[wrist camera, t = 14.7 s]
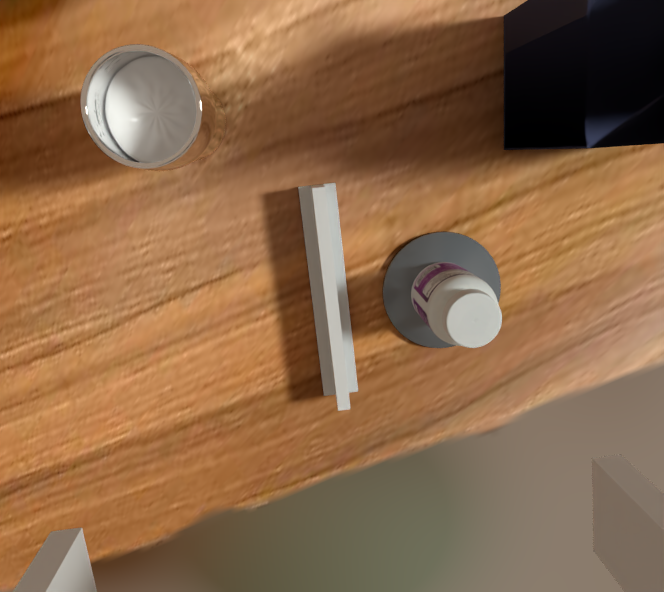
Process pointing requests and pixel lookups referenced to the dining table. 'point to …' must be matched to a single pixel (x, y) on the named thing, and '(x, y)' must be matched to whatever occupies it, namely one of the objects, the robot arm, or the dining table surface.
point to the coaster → (418, 258)
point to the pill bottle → (456, 305)
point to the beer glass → (150, 109)
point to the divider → (329, 290)
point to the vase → (583, 74)
